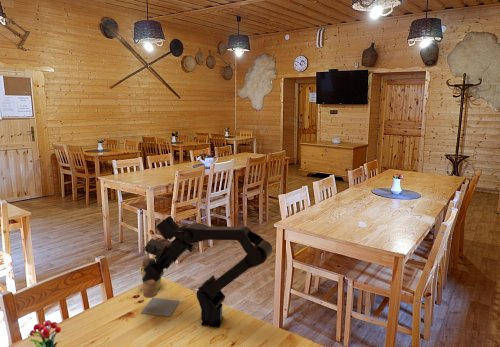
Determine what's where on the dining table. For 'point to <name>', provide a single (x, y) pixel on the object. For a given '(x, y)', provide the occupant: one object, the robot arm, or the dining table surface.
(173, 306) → the slate coaster
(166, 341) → the dining table surface
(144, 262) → the oak pepper mill
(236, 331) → the dining table surface
